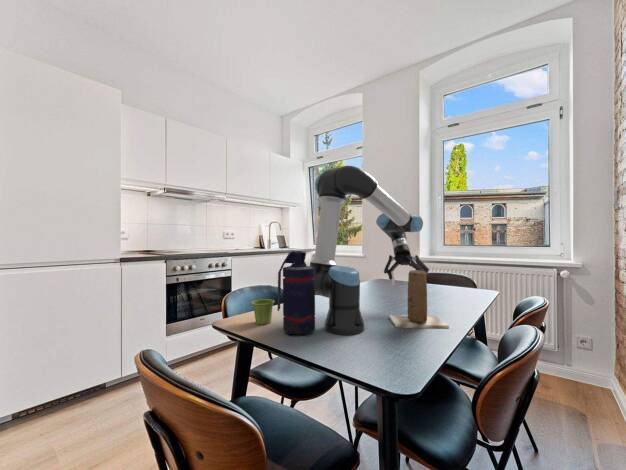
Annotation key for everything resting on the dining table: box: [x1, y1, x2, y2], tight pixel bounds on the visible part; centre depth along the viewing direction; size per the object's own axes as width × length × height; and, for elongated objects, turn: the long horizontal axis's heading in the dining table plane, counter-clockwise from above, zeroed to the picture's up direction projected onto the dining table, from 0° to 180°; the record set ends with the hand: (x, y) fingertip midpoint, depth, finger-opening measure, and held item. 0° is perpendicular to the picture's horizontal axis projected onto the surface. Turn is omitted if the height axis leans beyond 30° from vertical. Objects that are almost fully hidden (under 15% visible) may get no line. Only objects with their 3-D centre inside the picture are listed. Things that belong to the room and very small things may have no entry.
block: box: [407, 269, 428, 323], centre depth 124 cm, size 11×8×20 cm
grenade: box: [276, 250, 316, 337], centre depth 113 cm, size 14×12×30 cm
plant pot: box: [251, 298, 275, 326], centre depth 125 cm, size 9×9×9 cm
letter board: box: [388, 314, 450, 329], centre depth 124 cm, size 20×14×1 cm
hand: (409, 284), depth 136 cm, fingers open, 13 cm apart
